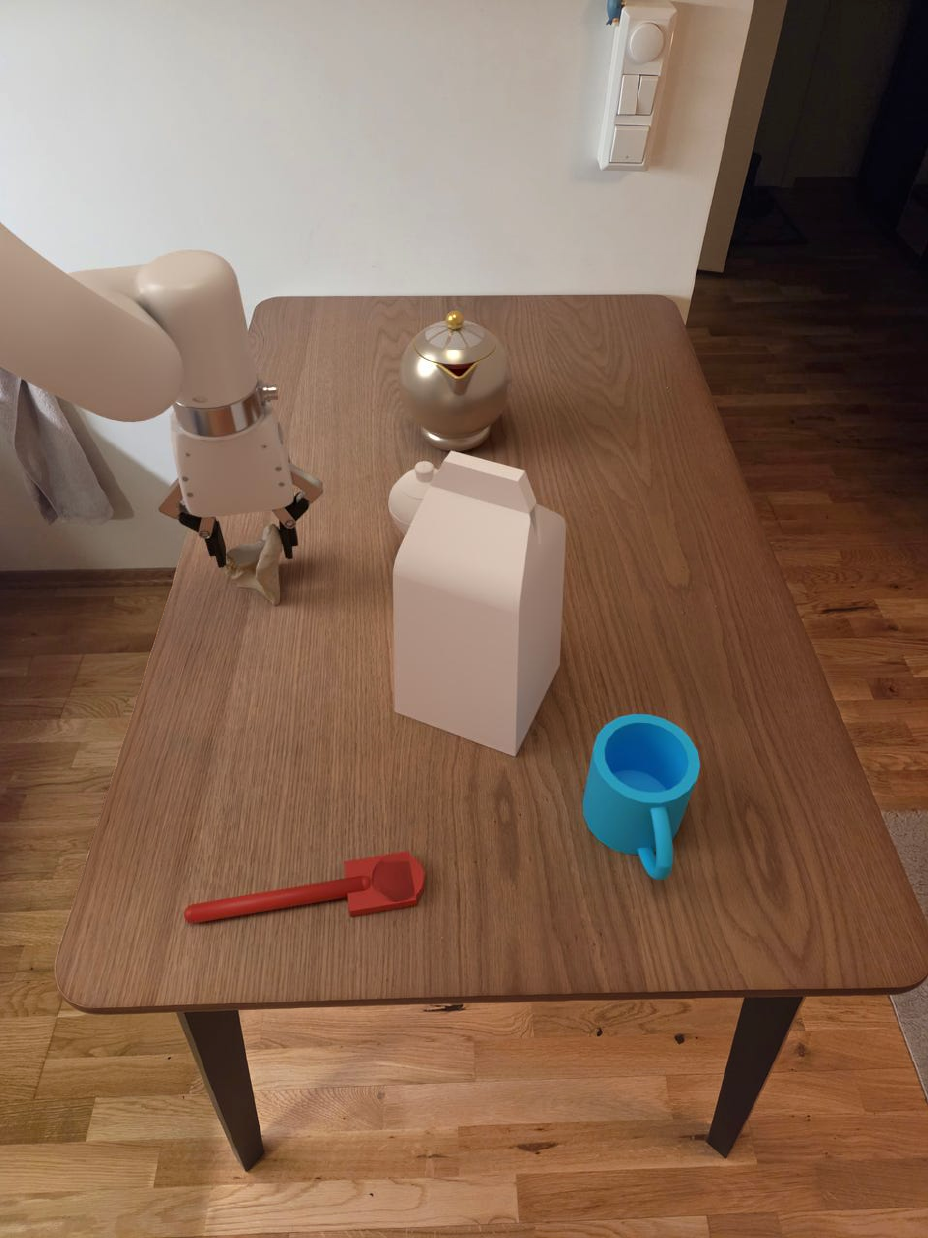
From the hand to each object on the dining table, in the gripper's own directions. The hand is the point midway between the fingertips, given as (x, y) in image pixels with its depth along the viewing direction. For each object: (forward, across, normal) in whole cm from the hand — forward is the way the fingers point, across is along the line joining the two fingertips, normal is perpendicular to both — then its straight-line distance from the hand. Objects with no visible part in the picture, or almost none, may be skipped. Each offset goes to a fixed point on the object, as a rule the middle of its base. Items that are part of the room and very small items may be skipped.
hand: (255, 552), depth 88 cm
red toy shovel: (+4, -2, +36) cm, 36 cm away
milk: (+4, -20, +18) cm, 27 cm away
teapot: (+4, -25, -24) cm, 35 cm away
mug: (+4, -30, +35) cm, 46 cm away
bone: (+4, 0, 0) cm, 4 cm away
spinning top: (+4, -18, -1) cm, 18 cm away
